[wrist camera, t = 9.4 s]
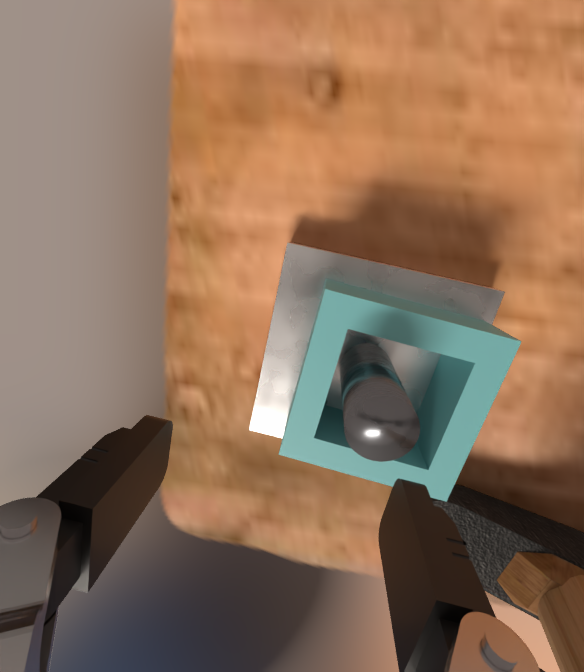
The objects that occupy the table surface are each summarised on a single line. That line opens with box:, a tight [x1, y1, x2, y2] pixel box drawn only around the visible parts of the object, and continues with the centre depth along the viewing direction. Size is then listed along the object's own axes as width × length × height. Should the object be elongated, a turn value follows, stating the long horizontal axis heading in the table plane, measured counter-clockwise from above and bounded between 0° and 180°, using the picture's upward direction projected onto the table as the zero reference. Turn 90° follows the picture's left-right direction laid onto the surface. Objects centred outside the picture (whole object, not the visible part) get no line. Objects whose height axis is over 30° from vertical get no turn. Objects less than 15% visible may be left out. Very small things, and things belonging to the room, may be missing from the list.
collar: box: [279, 279, 521, 502], centre depth 19 cm, size 9×9×4 cm
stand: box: [249, 242, 505, 462], centre depth 18 cm, size 12×12×8 cm
